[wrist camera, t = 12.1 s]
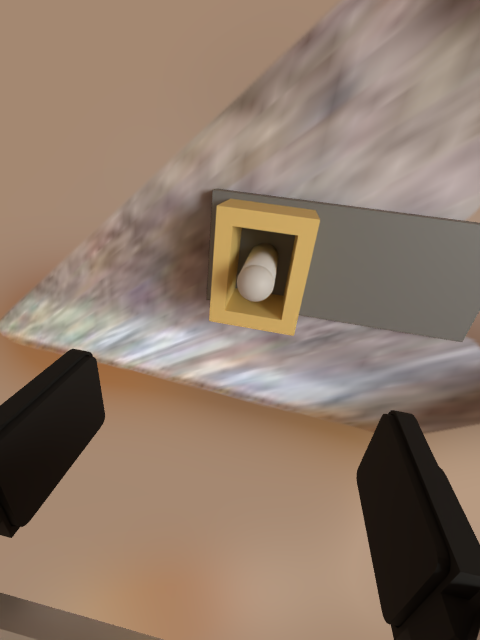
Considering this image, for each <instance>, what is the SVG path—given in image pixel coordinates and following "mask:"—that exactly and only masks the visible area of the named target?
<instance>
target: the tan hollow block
mask: <svg viewBox="0 0 480 640" xmlns="http://www.w3.org/2000/svg"><path fill="white" fill-rule="evenodd" d="M319 223H320V218H319V216H318V214H317V212H316V210H311V209H304V208H296V207H289V206H282V205H274V204H267V203H259V202H252V201H245V200H237V199H229V200H227V201H225V202H223V203H221V204H219V205H217V211H216V226H215V241H214V256H213V271H212V286H211V301H210V316H209V321H212V322H218V323H224V324H230V325H235V326H241V327H247V328H252V329H258V330H264V331H269V332H275V333H281V334H287V335H292V336H294V333H295V328H296V324H297V320H298V315H299V311H300V306H301V302H302V298H303V293H304V289H305V285H306V280H307V276H308V272H309V267H310V263H311V258H312V254H313V250H314V245H315V241H316V237H317V232H318V228H319ZM242 228H249V229H256V230H263V231H270V232H277V233H284V234H291V235H295V239H294V245H293V250H292V255H291V260H290V265H289V270H288V275H287V281H286V286H285V291H284V296H281V295H275V294H270V295H269V296H268V297H267V298H266V299H264V300H262V301H258V302H253V301H249V300H247V299H245V298H244V297H243V296H242V295H241V294H240V292H239V290H238V288H235V287H236V278H237V269H238V259H239V250H240V241H241V232H242Z"/></svg>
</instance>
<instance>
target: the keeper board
mask: <svg viewBox="0 0 480 640" xmlns="http://www.w3.org/2000/svg"><path fill="white" fill-rule="evenodd" d="M229 199H237V200H245V201H252V202H259V203H267V204H274V205H282V206H289V207H296V208H304V209H311V210H316V212H317V214H318V216H319V218H320V223H319V228H318V232H317V237H316V241H315V245H314V250H313V254H312V258H311V263H310V267H309V272H308V276H307V280H306V285H305V289H304V293H303V298H302V302H301V306H300V311H299V315H301V316H307V317H313V318H319V319H325V320H331V321H337V322H343V323H349V324H355V325H361V326H368V327H374V328H380V329H386V330H392V331H398V332H404V333H410V334H416V335H422V336H428V337H434V338H440V339H446V340H452V341H458V342H463V340H464V338H465V336H466V334H467V332H468V331H469V329H470V327H471V325H472V323H473V322H474V320H475V318H476V316H477V314H478V312H479V311H480V223H476V222H469V221H461V220H453V219H446V218H438V217H430V216H422V215H415V214H407V213H399V212H392V211H384V210H376V209H369V208H361V207H353V206H346V205H338V204H330V203H323V202H315V201H307V200H300V199H292V198H284V197H276V196H269V195H261V194H253V193H246V192H238V191H230V190H223V189H214V190H213V194H212V211H211V229H210V247H209V264H208V282H207V300H211V286H212V271H213V256H214V241H215V226H216V211H217V205H219V204H221V203H223V202H225V201H227V200H229ZM294 239H295V235H291V234H284V233H277V232H270V231H263V230H256V229H249V228H242V232H241V241H240V250H239V259H238V269H237V278H236V287H235V288H238V290H239V292H240V294H241V295H242V296H243V297H244V298H245V299H247V300H249V301H253V302H258V301H262V300H264V299H266V298H267V297H268V296H269V295H270V294H275V295H281V296H284V291H285V286H286V281H287V275H288V270H289V265H290V260H291V255H292V250H293V245H294Z"/></svg>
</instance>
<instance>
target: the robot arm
mask: <svg viewBox="0 0 480 640" xmlns="http://www.w3.org/2000/svg"><path fill="white" fill-rule="evenodd" d="M104 419H105V412H104V405H103V400H102V393H101V386H100V380H99V373H98V368H97V361H96V359H95V358H94V357H93V355H92V354H91V352H87V351H82V350H77V349H71V350H69V351H68V352H66V353H65V354H64V355H63V356H62V357H60V358H59V359H58V360H57V361H55V362H54V363H53V364H52V365H51V366H49V367H48V368H47V369H45V370H44V371H43V372H42V373H40V374H39V375H38V376H37V377H35V378H34V379H33V380H32V381H30V382H29V383H28V384H27V385H26V386H24V387H23V388H22V389H20V390H19V391H18V392H17V393H15V394H14V395H13V396H12V397H10V398H9V399H8V400H7V401H5V402H4V403H3V404H2V405H0V535H2V536H6V537H10V538H12V537H13V535H14V534H15V533H16V532H17V530H18V529H19V527H23V526H25V525H26V524H27V523H28V522H29V521H30V520H31V519H32V517H33V516H34V515H35V513H36V512H37V511H38V509H39V508H40V507H41V505H42V504H43V503H44V502H45V500H46V499H47V498H48V496H49V495H50V494H51V492H52V491H53V490H54V488H55V487H56V486H57V484H58V483H59V482H60V480H61V479H62V478H63V476H64V475H65V474H66V472H67V471H68V470H69V468H70V467H71V466H72V464H73V463H74V462H75V460H76V459H77V458H78V456H79V455H80V454H81V452H82V451H83V450H84V449H85V447H86V446H87V445H88V443H89V442H90V441H91V439H92V438H93V437H94V435H95V434H96V433H97V431H98V430H99V429H100V427H101V426H102V424H103V422H104ZM357 485H358V490H359V495H360V500H361V506H362V510H363V515H364V521H365V526H366V531H367V537H368V542H369V547H370V552H371V557H372V562H373V568H374V573H375V578H376V583H377V588H378V594H379V599H380V604H381V609H382V613H383V617H384V619H385V621H386V622H387V623H388V624H391V628H392V632H393V637H394V640H480V544H479V542H478V540H477V538H476V536H475V534H474V532H473V530H472V528H471V526H470V524H469V522H468V520H467V517H466V515H465V513H464V511H463V509H462V507H461V505H460V504H459V501H458V499H457V497H456V495H455V493H454V491H453V490H452V487H451V485H450V483H449V481H448V478H447V476H446V475H445V473H444V472H443V470H442V469H441V468H440V467H439V466H438V464H437V462H436V460H435V458H434V456H433V454H432V452H431V450H430V448H429V446H428V443H427V441H426V439H425V437H424V435H423V433H422V431H421V429H420V426H419V424H418V422H417V420H416V418H415V417H414V415H412V414H409V413H404V412H399V411H394V410H391V411H390V412H389V413H388V414H383V415H382V417H381V419H380V421H379V424H378V426H377V428H376V430H375V432H374V435H373V437H372V439H371V441H370V443H369V445H368V448H367V450H366V452H365V454H364V456H363V459H362V461H361V463H360V466H359V468H358V470H357ZM0 640H163V639H160V638H156V637H153V636H149V635H146V634H143V633H139V632H136V631H132V630H129V629H125V628H122V627H118V626H115V625H111V624H108V623H105V622H101V621H98V620H94V619H90V618H87V617H84V616H80V615H77V614H73V613H70V612H66V611H62V610H59V609H55V608H52V607H49V606H45V605H42V604H38V603H35V602H31V601H28V600H24V599H20V598H17V597H14V596H10V595H6V594H3V593H0Z"/></svg>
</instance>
